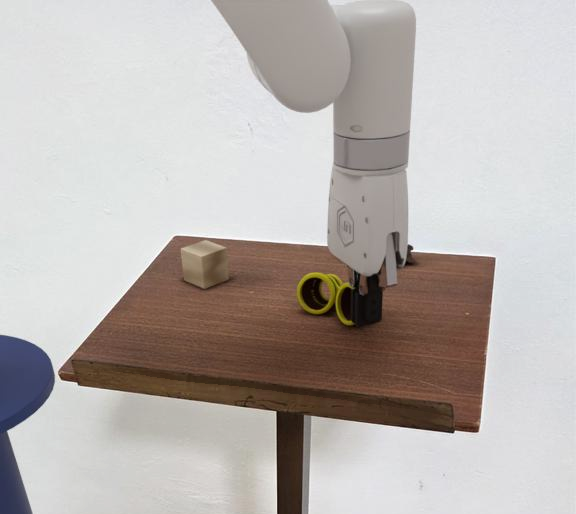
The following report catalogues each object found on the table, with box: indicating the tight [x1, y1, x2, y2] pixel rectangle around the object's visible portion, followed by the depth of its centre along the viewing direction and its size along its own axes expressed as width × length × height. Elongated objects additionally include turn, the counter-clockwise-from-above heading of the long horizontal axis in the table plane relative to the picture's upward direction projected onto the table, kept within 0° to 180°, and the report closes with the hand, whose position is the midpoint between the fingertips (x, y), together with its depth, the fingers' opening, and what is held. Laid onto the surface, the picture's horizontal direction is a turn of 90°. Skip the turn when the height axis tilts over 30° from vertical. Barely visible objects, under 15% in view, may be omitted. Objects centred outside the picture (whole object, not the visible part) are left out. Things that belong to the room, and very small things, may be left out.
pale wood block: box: [180, 239, 230, 290], centre depth 100 cm, size 4×4×4 cm
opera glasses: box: [296, 271, 355, 326], centre depth 91 cm, size 10×5×5 cm, turn 50°
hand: (366, 321), depth 86 cm, fingers closed
